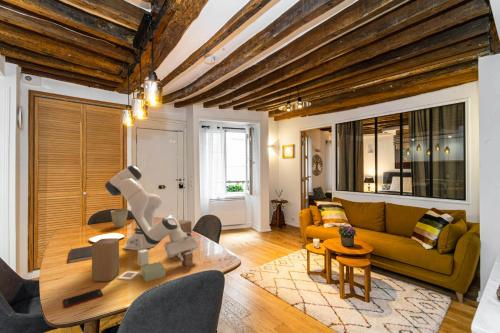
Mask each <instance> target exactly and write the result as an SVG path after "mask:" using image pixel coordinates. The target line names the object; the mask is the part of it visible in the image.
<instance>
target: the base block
mask: <svg viewBox="0 0 500 333" xmlns="http://www.w3.org/2000/svg"><path fill="white" fill-rule="evenodd" d="M140 269H141V270H140V273H141V274H140V275H141V277H142V278H143V280H144V282H150V281H153V280H154V281H155V280H156V279H158V280H159V279H161V278H165V277H166V267H165V266H164V265H163V264H162V263H161V261H158V262H154V263H149V264H146V265H143V266H140Z"/></svg>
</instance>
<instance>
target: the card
mask: <svg viewBox="0 0 500 333" xmlns="http://www.w3.org/2000/svg"><path fill="white" fill-rule="evenodd" d="M140 273H141V271H130V270H128V271H124V272H123V273H121V275H119V276H117V278H116V280H127V281H128V280H129V281H131V280H133V279H134V278H136V277H137V276H138V275H139V274H140Z"/></svg>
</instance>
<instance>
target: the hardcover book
mask: <svg viewBox="0 0 500 333" xmlns="http://www.w3.org/2000/svg"><path fill="white" fill-rule="evenodd" d="M67 260H68V261H67V263H68V264H69V263H75V262H80V261H86V260H92V245H89V246H83V247H77V248H76V247H75V248H71V249H69V254H68V259H67Z"/></svg>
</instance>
